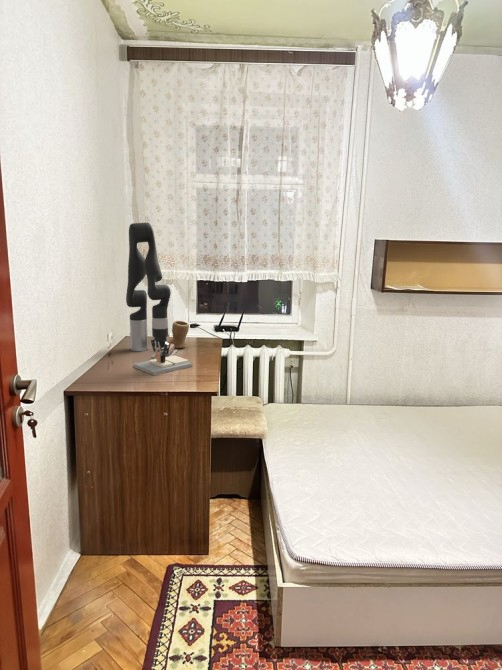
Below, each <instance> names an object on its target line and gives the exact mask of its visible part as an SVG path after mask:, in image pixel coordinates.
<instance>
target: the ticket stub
mask: <svg viewBox="0 0 502 670" xmlns="http://www.w3.org/2000/svg"><path fill="white" fill-rule="evenodd" d="M162 352H163V351H162ZM156 359H157V360H156ZM156 359H149V360H148V361H149V362H150V363H152V364H155V365H158V366H160V367H168V366H172V365H173V363H171V362H168V361H165V362H164V363H161V354H160V351H158V352H156Z"/></svg>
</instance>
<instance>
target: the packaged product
mask: <svg viewBox="0 0 502 670" xmlns="http://www.w3.org/2000/svg"><path fill="white" fill-rule="evenodd" d="M174 347H175V345H174V344H170V349H169V353H168V354H166V355H165V357H169V356H174V355H176V354H177V352H178V351H179V350H178V349H177V348H174ZM162 349H163V348H162ZM150 357H151V360H153V359H156V353H155V352H154V354H151V356H150Z"/></svg>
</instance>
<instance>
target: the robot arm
mask: <svg viewBox="0 0 502 670" xmlns="http://www.w3.org/2000/svg"><path fill="white" fill-rule="evenodd" d="M128 227H129V228H128V248H129V249H128V263H127V264H128V265H127V266H128V267H127V286H126V287H127V288H126V293H125V294H126V295H125V296H126V297H125V300H126V306H127V307H129V308H139V309H138V310H136V311H134V312H132V313H130V314H129V328H130V329H129V331H130V332H129V343H130V344H129V345H130V347H129V348H130V350H131V351H133V352H144V351H148V349H149V343H148V337H149V336H148V313H147V311H148V308H147V307H148V304H147V303H148V298H149V299H150V300H151V301H159V303H157V304H154V305H152V307H151V313H152V314H151V316H152V317H151V318H152V320H151V333H152V335H151V336H152V337H153V339H150V343H151V347H152V350H153V352H154V354H155V353H156V352H158V351H160V354H161V363H164V362H165V355H166V354H168V353H169V349H170V343H169V344H168V341H167V338H168V337H169V321H168V307H169V302H170V298H171V293H172V292H171V291H172V290H171V289H170V287H169V286H168V285H167V284H156V283H158V282H161V281H162V279H163V274H162V269H161V267H160V264H159V263H160V262H159V257H158V251H157V245H156V239H155V238H156V237H155V233H154V229H153V225H152V224H151V223H150V222H134V223H131V224H130V225H129V226H128ZM140 243H147V245H148V250H147V254H146V256H145V257H144V255H143V253H142V252H141V251H140V250H139V248H138V244H140ZM145 277H146V279H147V291H146V290H144V289H138V290H136V288H137V286H138V285H139V284H140V283H141V282H142V281H143V280H145V279H144V278H145ZM162 348H163V349H162ZM162 351H163V352H162ZM156 360H157V359H156Z"/></svg>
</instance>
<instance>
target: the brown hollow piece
mask: <svg viewBox="0 0 502 670" xmlns="http://www.w3.org/2000/svg"><path fill="white" fill-rule="evenodd" d="M171 327H172V328H171V333H172V338H170V339H168V341H167V343H168V344H169V343H170V344H174V345H175V347H174V349H182V348H183V349H184V348H185V347H186V346H187V345H186V341H185V340H186V337H187V336H188V333H189V330H190V329H189V328H190V324H189V323H188V322H186V321H183V320H174V321H173V322H172V326H171Z"/></svg>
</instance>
